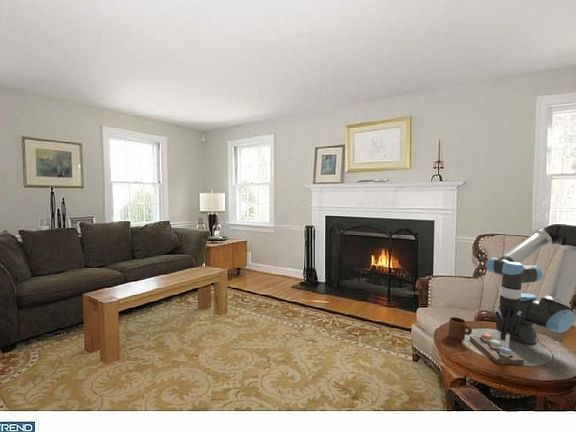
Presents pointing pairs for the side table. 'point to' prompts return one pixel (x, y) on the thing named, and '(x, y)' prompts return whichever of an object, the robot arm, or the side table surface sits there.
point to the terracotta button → (486, 337)
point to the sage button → (495, 344)
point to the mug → (458, 329)
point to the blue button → (505, 352)
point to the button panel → (496, 352)
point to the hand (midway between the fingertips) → (504, 347)
